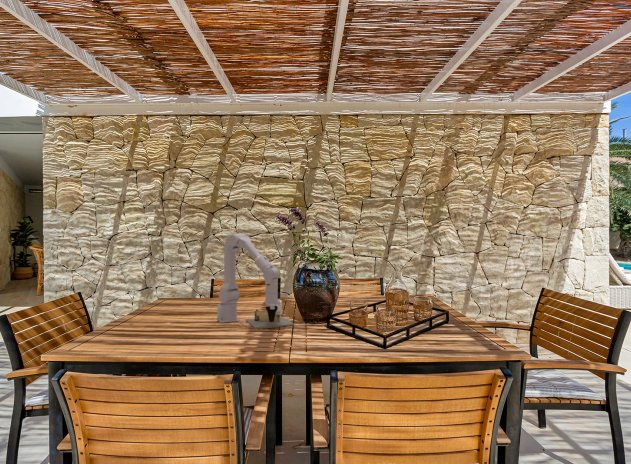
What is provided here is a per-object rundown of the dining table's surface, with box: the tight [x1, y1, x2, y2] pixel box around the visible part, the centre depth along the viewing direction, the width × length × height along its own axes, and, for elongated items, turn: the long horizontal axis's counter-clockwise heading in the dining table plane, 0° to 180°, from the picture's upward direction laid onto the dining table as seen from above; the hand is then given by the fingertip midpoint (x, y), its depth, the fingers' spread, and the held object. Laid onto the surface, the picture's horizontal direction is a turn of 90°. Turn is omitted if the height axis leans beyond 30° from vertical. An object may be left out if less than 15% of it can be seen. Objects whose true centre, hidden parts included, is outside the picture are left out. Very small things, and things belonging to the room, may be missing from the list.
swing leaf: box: [254, 310, 281, 322], centre depth 227 cm, size 3×13×4 cm, turn 76°
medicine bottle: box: [266, 291, 283, 316], centre depth 246 cm, size 7×7×12 cm
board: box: [245, 315, 295, 330], centre depth 226 cm, size 19×19×1 cm
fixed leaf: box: [254, 309, 280, 321], centre depth 230 cm, size 13×3×5 cm, turn 112°
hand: (271, 321), depth 219 cm, fingers closed
